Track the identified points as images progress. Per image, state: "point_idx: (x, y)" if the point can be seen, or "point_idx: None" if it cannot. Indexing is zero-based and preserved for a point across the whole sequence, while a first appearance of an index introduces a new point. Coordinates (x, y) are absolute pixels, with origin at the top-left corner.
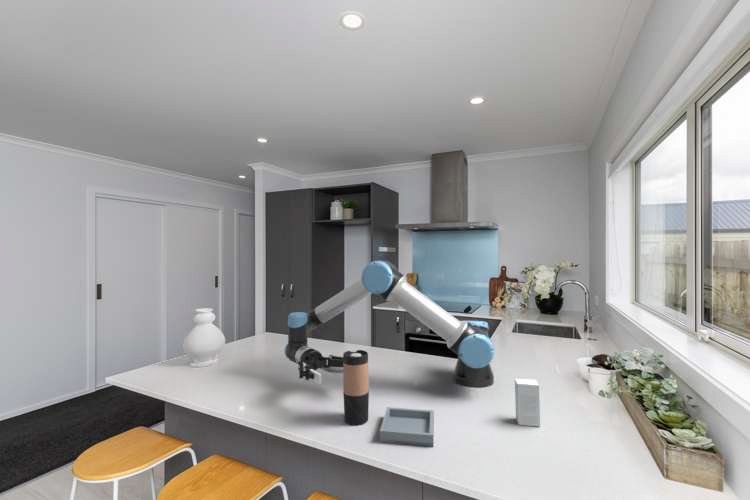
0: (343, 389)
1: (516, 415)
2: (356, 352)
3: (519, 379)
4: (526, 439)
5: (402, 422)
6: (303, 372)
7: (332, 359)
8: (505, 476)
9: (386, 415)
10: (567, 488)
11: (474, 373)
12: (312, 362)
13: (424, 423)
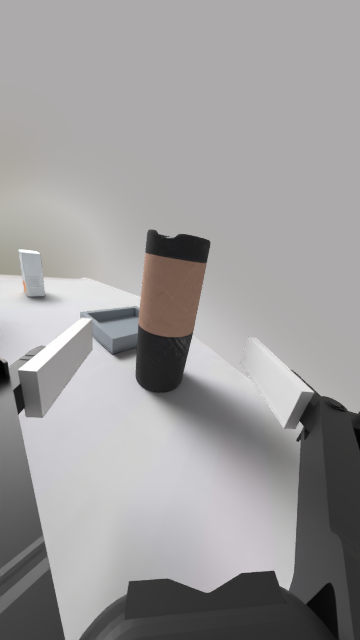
0: (193, 327)
1: (33, 291)
2: (160, 238)
3: (23, 251)
4: (72, 294)
5: (119, 333)
6: (349, 413)
7: (5, 527)
8: (131, 298)
9: (137, 331)
10: (119, 290)
11: None
12: (354, 550)
13: (103, 323)
